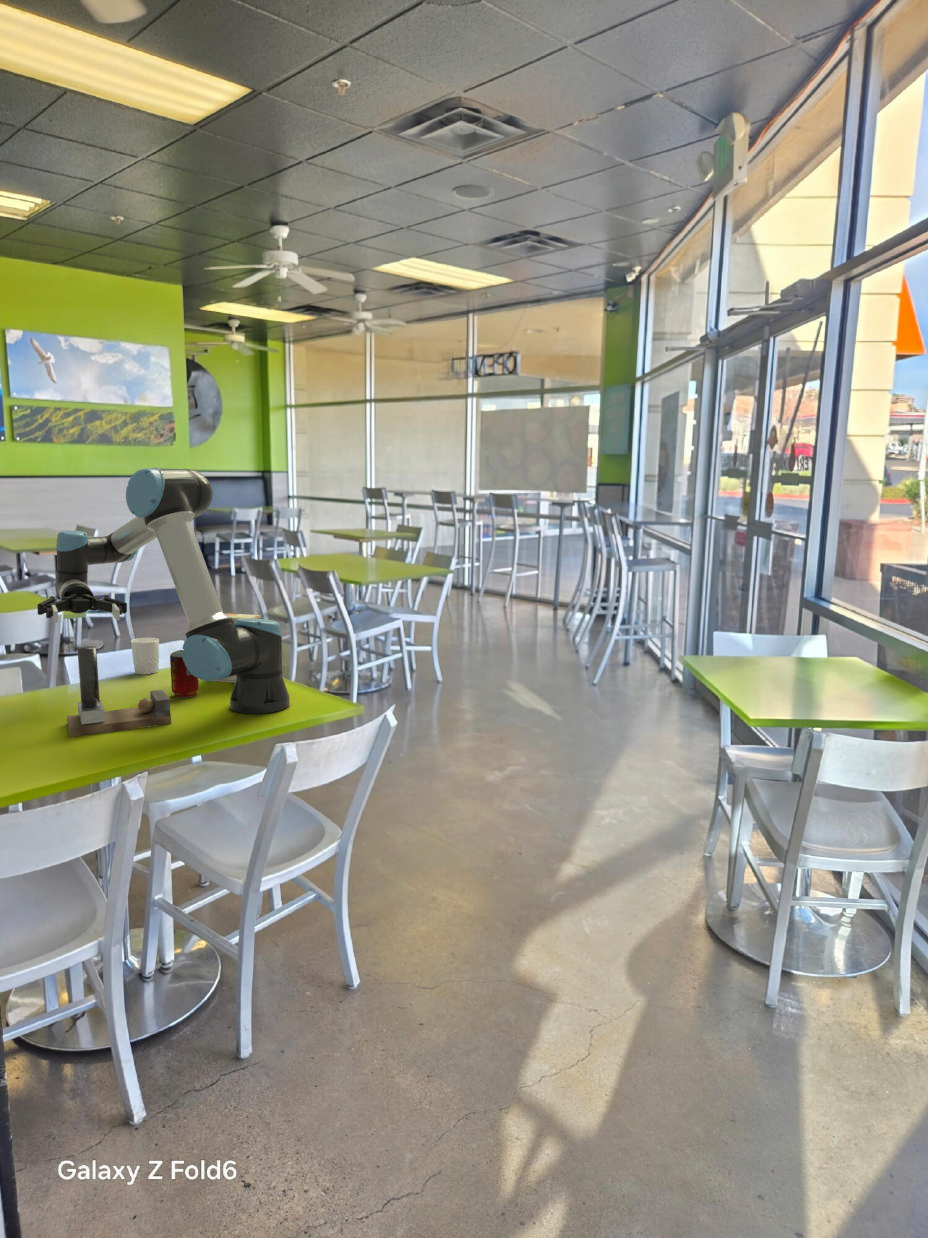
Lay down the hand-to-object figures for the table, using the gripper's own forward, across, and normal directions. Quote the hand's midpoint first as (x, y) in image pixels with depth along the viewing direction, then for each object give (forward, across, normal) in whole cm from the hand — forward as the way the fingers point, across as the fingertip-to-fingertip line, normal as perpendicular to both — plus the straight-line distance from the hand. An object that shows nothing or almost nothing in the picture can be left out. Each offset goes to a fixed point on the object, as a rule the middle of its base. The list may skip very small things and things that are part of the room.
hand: (87, 616), depth 192 cm
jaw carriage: (+10, 0, -23) cm, 24 cm away
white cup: (-41, -22, -28) cm, 54 cm away
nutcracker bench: (+10, -6, -24) cm, 27 cm away
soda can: (-9, -26, -25) cm, 37 cm away
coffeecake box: (-19, -42, -26) cm, 52 cm away
